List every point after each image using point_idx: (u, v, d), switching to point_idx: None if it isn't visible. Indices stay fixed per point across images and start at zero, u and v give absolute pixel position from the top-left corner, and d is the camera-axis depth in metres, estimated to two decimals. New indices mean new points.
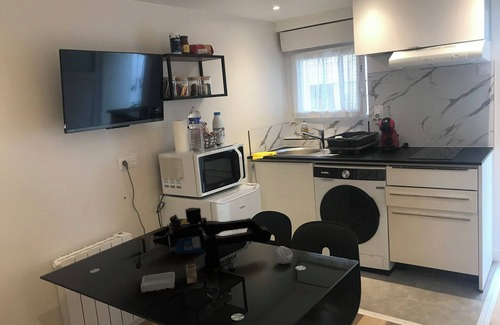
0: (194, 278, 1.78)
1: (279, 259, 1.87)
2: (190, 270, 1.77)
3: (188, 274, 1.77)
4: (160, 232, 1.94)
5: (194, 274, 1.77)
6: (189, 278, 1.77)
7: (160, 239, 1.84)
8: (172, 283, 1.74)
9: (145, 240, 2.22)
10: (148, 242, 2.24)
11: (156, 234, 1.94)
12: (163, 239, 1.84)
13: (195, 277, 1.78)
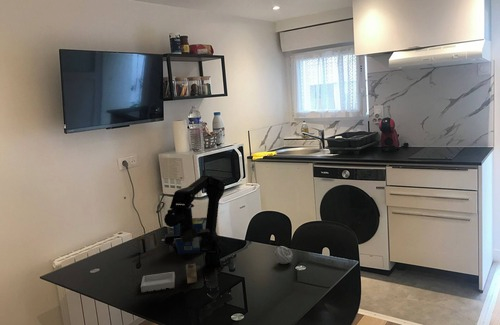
0: (194, 278, 1.78)
1: (279, 259, 1.87)
2: (190, 270, 1.77)
3: (188, 274, 1.77)
4: (177, 250, 1.78)
5: (194, 274, 1.77)
6: (189, 278, 1.77)
7: None
8: (172, 283, 1.74)
9: (145, 240, 2.22)
10: (148, 242, 2.24)
11: (178, 254, 1.79)
12: None
13: (195, 277, 1.78)
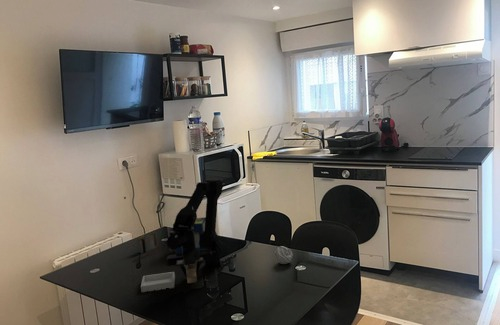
0: (194, 278, 1.78)
1: (279, 259, 1.87)
2: (190, 270, 1.77)
3: (188, 274, 1.77)
4: (185, 271, 1.79)
5: (194, 274, 1.77)
6: (189, 278, 1.77)
7: (198, 269, 1.80)
8: (172, 283, 1.74)
9: (145, 240, 2.22)
10: (148, 242, 2.24)
11: (186, 274, 1.80)
12: None
13: (195, 277, 1.78)
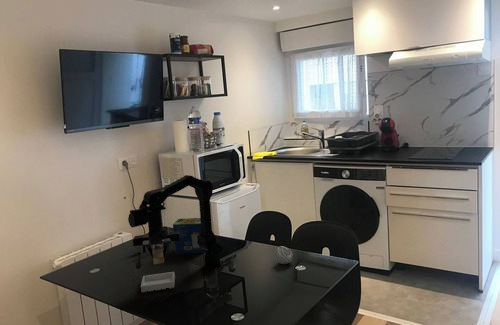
0: (160, 258, 1.74)
1: (279, 259, 1.87)
2: (156, 250, 1.74)
3: (154, 255, 1.74)
4: (152, 252, 1.76)
5: (161, 255, 1.74)
6: (155, 259, 1.74)
7: None
8: (172, 283, 1.74)
9: None
10: None
11: None
12: None
13: (162, 258, 1.74)
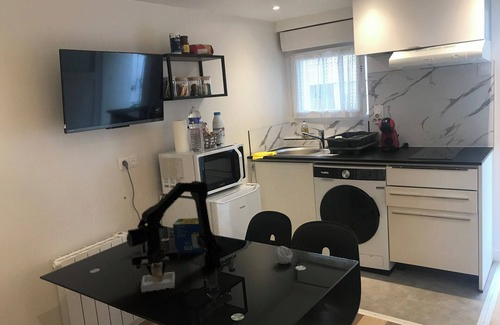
0: (159, 277, 1.75)
1: (279, 259, 1.87)
2: (155, 269, 1.75)
3: (153, 273, 1.75)
4: None
5: (159, 273, 1.75)
6: (154, 277, 1.75)
7: (164, 268, 1.78)
8: (172, 283, 1.74)
9: None
10: None
11: None
12: None
13: (160, 276, 1.75)
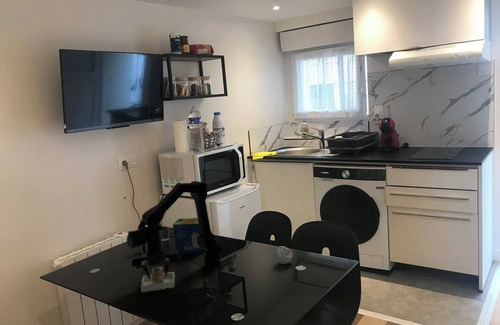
0: (160, 281, 1.76)
1: (279, 259, 1.87)
2: (156, 273, 1.75)
3: (154, 277, 1.75)
4: (148, 272, 1.77)
5: (160, 277, 1.75)
6: (155, 282, 1.75)
7: (167, 269, 1.78)
8: (172, 283, 1.74)
9: None
10: None
11: None
12: None
13: (161, 280, 1.76)
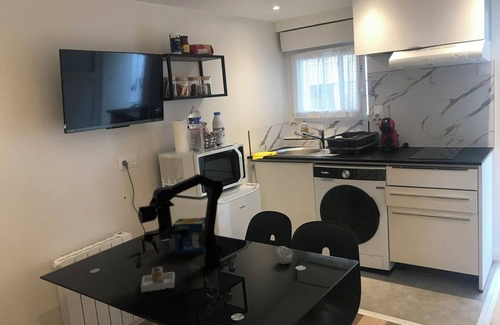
0: (160, 281, 1.76)
1: (279, 259, 1.87)
2: (156, 273, 1.75)
3: (154, 277, 1.75)
4: (157, 247, 1.82)
5: (160, 277, 1.75)
6: (155, 282, 1.75)
7: (181, 243, 1.84)
8: (172, 283, 1.74)
9: None
10: None
11: (158, 251, 1.83)
12: None
13: (161, 280, 1.76)
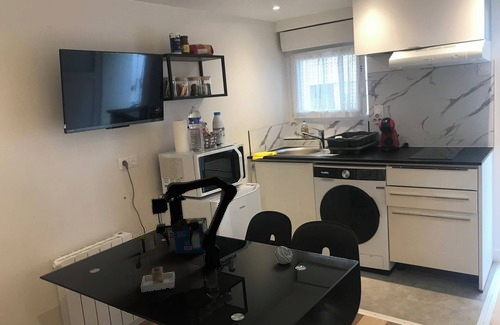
0: (160, 281, 1.76)
1: (279, 259, 1.87)
2: (156, 273, 1.75)
3: (154, 277, 1.75)
4: (168, 239, 1.89)
5: (160, 277, 1.75)
6: (155, 282, 1.75)
7: None
8: (172, 283, 1.74)
9: (145, 240, 2.22)
10: (148, 242, 2.24)
11: (169, 243, 1.90)
12: None
13: (161, 280, 1.76)
